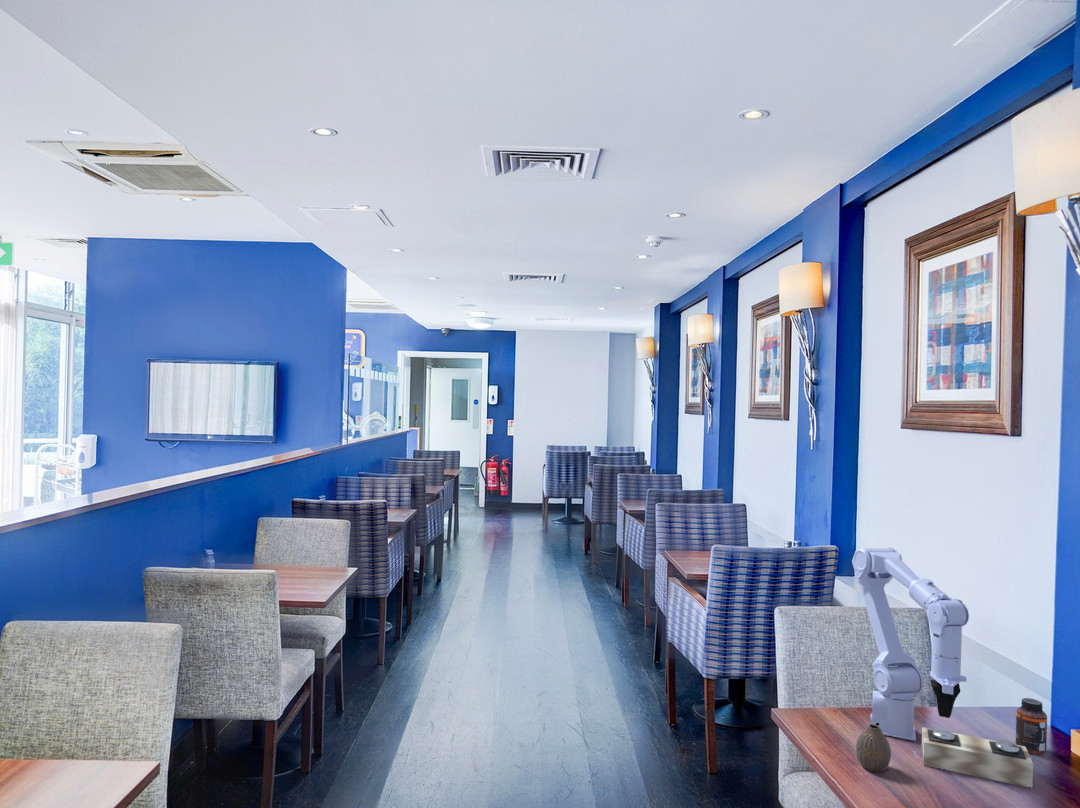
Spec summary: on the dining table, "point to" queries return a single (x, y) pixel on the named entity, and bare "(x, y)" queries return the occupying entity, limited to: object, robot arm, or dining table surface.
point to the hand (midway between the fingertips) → (944, 716)
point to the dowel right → (1007, 747)
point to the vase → (873, 749)
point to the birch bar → (977, 758)
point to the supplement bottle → (1031, 726)
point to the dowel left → (943, 735)
